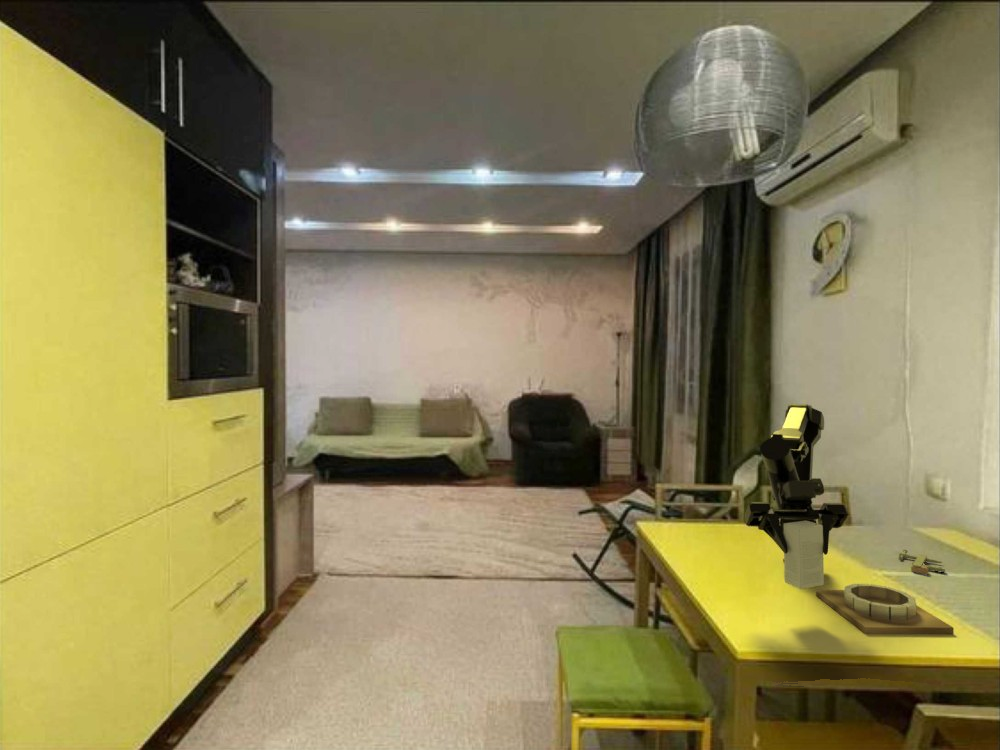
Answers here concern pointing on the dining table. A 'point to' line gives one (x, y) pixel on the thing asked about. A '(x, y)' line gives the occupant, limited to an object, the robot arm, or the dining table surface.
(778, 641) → the dining table surface
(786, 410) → the robot arm
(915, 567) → the clamp
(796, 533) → the skincare box
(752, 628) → the dining table surface
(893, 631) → the walnut fitting board
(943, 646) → the dining table surface
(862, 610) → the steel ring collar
